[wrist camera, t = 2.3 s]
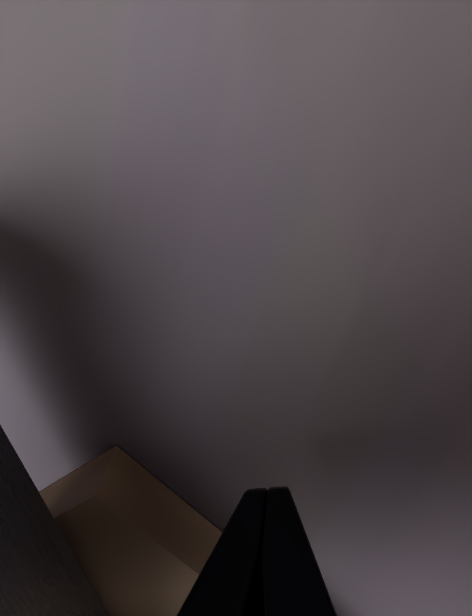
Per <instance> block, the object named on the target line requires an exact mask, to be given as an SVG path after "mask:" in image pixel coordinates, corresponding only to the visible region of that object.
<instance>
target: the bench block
mask: <svg viewBox="0 0 472 616" xmlns="http://www.w3.org/2000/svg"><path fill="white" fill-rule="evenodd" d="M39 493H40V495H41V497H42V498H43V500H44V502H45V504H46V505H47V507H48V509H49V511H50V512H51V514H52V516H53V518H54V519H55V521H56V523H57V525H58V526H59V528H60V530H61V532H62V533H63V535H64V537H65V538H66V540H67V542H68V544H69V545H70V547H71V549H72V551H73V552H74V554H75V556H76V558H77V559H78V561H79V563H80V565H81V566H82V568H83V570H84V572H85V573H86V575H87V577H88V579H89V580H90V582H91V584H92V586H93V587H94V589H95V591H96V592H97V594H98V596H99V598H100V599H101V601H102V603H103V605H104V606H105V608H106V610H107V612H108V613H109V615H110V616H177V614H178V612H179V610H180V608H181V607H182V605H183V603H184V601H185V599H186V598H187V596H188V594H189V592H190V590H191V588H192V587H193V585H194V583H195V581H196V579H197V578H198V576H199V574H200V572H201V570H202V569H203V567H204V565H205V563H206V561H207V560H208V558H209V556H210V554H211V552H212V550H213V549H214V547H215V545H216V543H217V541H218V540H219V538H220V536H221V534H222V532H221V531H220V530H219V529H218V528H216V527H215V526H214V525H213V524H211V523H210V522H209V521H208V520H207V519H205V518H204V517H203V516H202V515H200V514H199V513H198V512H197V511H196V510H194V509H193V508H192V507H191V506H190V505H188V504H187V503H186V502H185V501H183V500H182V499H181V498H180V497H179V496H177V495H176V494H175V493H174V492H172V491H171V490H170V489H169V488H168V487H166V486H165V485H164V484H163V483H161V482H160V481H159V480H158V479H157V478H155V477H154V476H153V475H152V474H151V473H149V472H148V471H147V470H146V469H144V468H143V467H142V466H141V465H140V464H138V463H137V462H136V461H135V460H133V459H132V458H131V457H130V456H129V455H127V454H126V453H125V452H124V451H123V450H121V449H120V448H119V447H118V446H115V447H113V448H111V449H110V450H108V451H106V452H105V453H103V454H101V455H100V456H98V457H96V458H95V459H93V460H91V461H90V462H88V463H86V464H85V465H83V466H82V467H80V468H78V469H77V470H75V471H73V472H72V473H70V474H68V475H67V476H65V477H63V478H62V479H60V480H58V481H57V482H55V483H53V484H52V485H50V486H48V487H47V488H45V489H44V490H42V491H40V492H39Z"/></svg>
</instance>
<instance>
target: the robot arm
mask: <svg viewBox="0 0 472 616" xmlns="http://www.w3.org/2000/svg"><path fill="white" fill-rule="evenodd" d="M177 616H337V615H336V612H335V609H334V607H333V604H332V601H331V599H330V596H329V593H328V591H327V588H326V585H325V583H324V580H323V577H322V575H321V572H320V569H319V567H318V564H317V561H316V559H315V556H314V553H313V551H312V548H311V545H310V543H309V540H308V537H307V535H306V532H305V529H304V527H303V524H302V521H301V519H300V516H299V513H298V511H297V508H296V505H295V503H294V500H293V497H292V495H291V492H290V490H289V488H288V487H286V486H284V487H271V488H269V489H268V490H267V489H266V488H254V489H248V490H246V491H245V493H244V494H243V496H242V498H241V500H240V502H239V503H238V505H237V507H236V509H235V511H234V513H233V514H232V516H231V518H230V520H229V522H228V523H227V525H226V527H225V529H224V531H223V532H222V534H221V536H220V538H219V540H218V541H217V543H216V545H215V547H214V549H213V550H212V552H211V554H210V556H209V558H208V560H207V561H206V563H205V565H204V567H203V569H202V570H201V572H200V574H199V576H198V578H197V579H196V581H195V583H194V585H193V587H192V588H191V590H190V592H189V594H188V596H187V598H186V599H185V601H184V603H183V605H182V607H181V608H180V610H179V612H178V614H177Z"/></svg>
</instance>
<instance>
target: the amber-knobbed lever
mask: <svg viewBox="0 0 472 616" xmlns="http://www.w3.org/2000/svg"><path fill="white" fill-rule="evenodd" d="M0 616H110V615H109V613H108V612H107V610H106V608H105V606H104V605H103V603H102V601H101V599H100V598H99V596H98V594H97V592H96V591H95V589H94V587H93V586H92V584H91V582H90V580H89V579H88V577H87V575H86V573H85V572H84V570H83V568H82V566H81V565H80V563H79V561H78V559H77V558H76V556H75V554H74V552H73V551H72V549H71V547H70V545H69V544H68V542H67V540H66V538H65V537H64V535H63V533H62V532H61V530H60V528H59V526H58V525H57V523H56V521H55V519H54V518H53V516H52V514H51V512H50V511H49V509H48V507H47V505H46V504H45V502H44V500H43V498H42V497H41V495H40V493H39V491H38V490H37V488H36V486H35V484H34V483H33V481H32V479H31V478H30V476H29V474H28V472H27V471H26V469H25V467H24V465H23V464H22V462H21V460H20V458H19V457H18V455H17V453H16V451H15V450H14V448H13V446H12V444H11V443H10V441H9V439H8V437H7V436H6V434H5V432H4V430H3V429H2V427H1V425H0Z"/></svg>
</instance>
